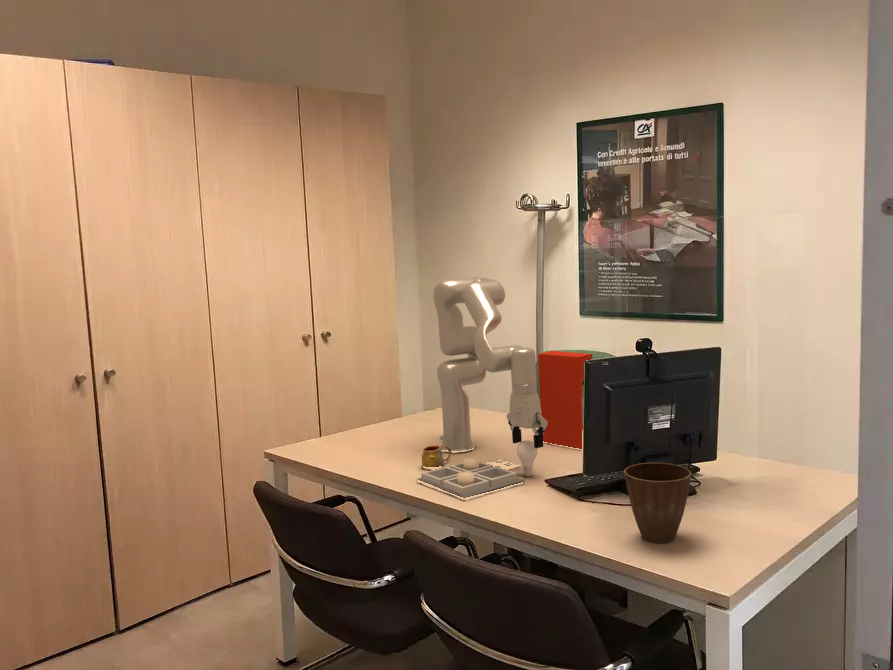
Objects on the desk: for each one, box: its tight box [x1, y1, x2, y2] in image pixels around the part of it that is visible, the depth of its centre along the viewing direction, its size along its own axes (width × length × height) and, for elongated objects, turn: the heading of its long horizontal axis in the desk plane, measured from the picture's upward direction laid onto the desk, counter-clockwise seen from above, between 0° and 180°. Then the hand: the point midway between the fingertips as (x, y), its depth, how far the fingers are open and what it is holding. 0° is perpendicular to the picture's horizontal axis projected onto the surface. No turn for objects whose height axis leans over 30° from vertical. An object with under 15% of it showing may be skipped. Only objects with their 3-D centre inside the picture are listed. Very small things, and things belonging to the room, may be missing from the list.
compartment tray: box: [417, 456, 525, 498], centre depth 230 cm, size 24×22×5 cm
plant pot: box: [623, 462, 692, 544], centre depth 180 cm, size 15×15×16 cm
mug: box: [420, 445, 453, 467], centre depth 250 cm, size 12×7×7 cm, turn 131°
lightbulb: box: [515, 439, 538, 476], centre depth 234 cm, size 6×6×11 cm
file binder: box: [537, 350, 593, 449], centre depth 266 cm, size 8×17×32 cm, turn 43°
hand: (527, 445), depth 233 cm, fingers open, 9 cm apart
